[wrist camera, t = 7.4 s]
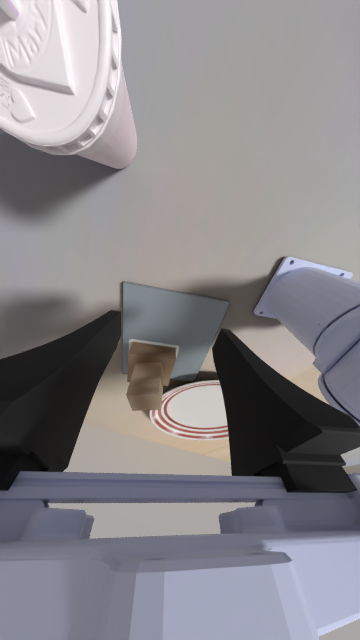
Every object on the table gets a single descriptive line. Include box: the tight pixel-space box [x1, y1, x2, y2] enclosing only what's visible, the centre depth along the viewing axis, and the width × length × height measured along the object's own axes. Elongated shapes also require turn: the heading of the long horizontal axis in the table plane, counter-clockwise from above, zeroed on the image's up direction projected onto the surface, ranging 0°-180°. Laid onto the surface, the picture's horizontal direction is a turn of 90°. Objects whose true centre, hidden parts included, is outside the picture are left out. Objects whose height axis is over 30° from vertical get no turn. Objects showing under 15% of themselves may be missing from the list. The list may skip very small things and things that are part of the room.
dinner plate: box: [149, 380, 229, 440], centre depth 35 cm, size 28×27×3 cm
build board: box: [123, 281, 230, 382], centre depth 24 cm, size 14×18×1 cm
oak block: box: [126, 362, 164, 411], centre depth 22 cm, size 4×4×5 cm
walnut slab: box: [127, 342, 176, 386], centre depth 25 cm, size 7×7×2 cm
